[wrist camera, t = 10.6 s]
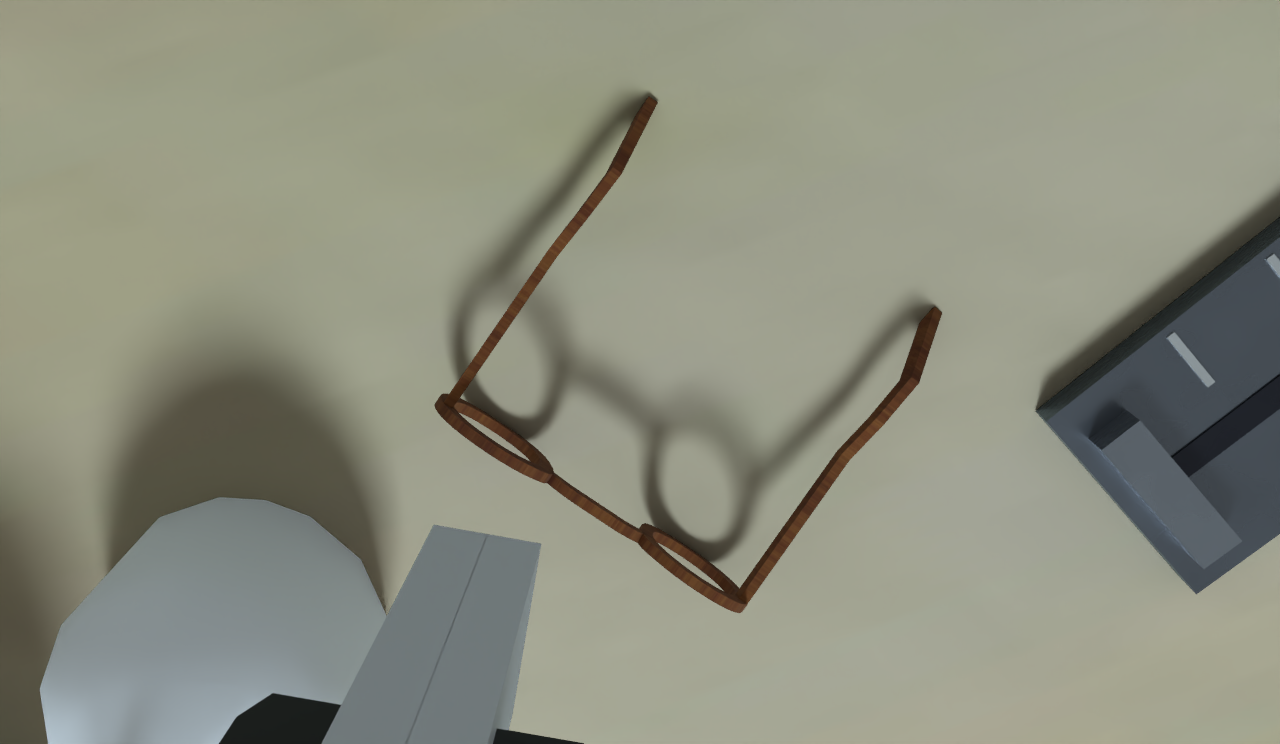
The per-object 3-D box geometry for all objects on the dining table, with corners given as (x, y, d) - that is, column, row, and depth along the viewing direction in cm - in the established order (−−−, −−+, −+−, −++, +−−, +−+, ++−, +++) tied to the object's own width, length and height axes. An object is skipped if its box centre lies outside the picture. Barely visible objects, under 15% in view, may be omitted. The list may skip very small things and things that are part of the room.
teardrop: (227, 793, 45) (75, 1044, 33) (51, 586, 43) (-179, 781, 31) (444, 667, 43) (363, 888, 32) (273, 443, 41) (117, 594, 29)
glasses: (443, 391, 40) (412, 435, 36) (647, 94, 37) (644, 98, 32) (729, 581, 42) (737, 647, 37) (946, 312, 39) (985, 347, 34)
